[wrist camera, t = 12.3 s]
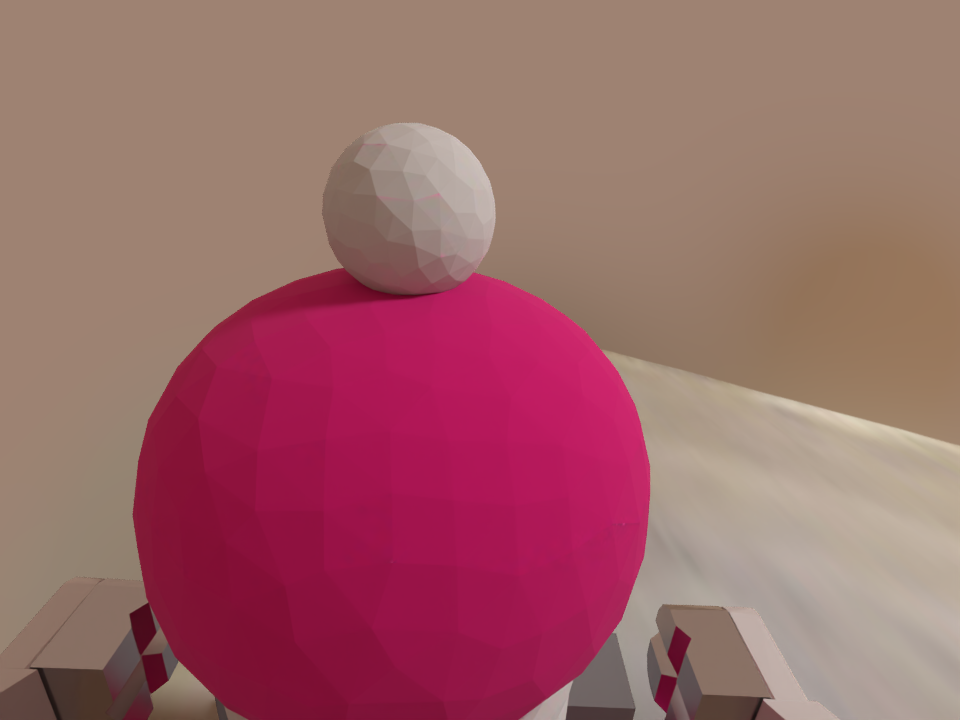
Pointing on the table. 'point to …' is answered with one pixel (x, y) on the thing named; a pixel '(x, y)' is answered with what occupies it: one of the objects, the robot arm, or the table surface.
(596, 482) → the pepper mill
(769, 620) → the table surface
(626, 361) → the table surface
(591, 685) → the vise
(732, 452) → the table surface
